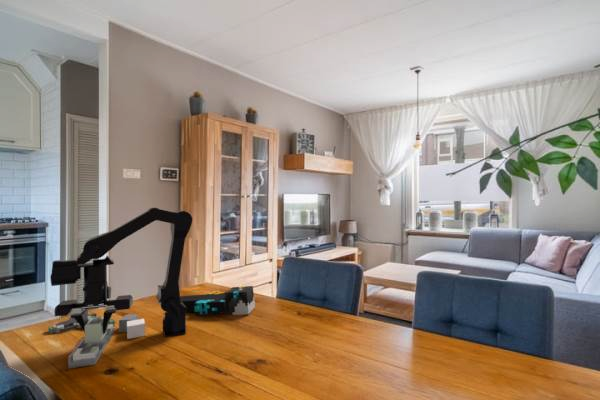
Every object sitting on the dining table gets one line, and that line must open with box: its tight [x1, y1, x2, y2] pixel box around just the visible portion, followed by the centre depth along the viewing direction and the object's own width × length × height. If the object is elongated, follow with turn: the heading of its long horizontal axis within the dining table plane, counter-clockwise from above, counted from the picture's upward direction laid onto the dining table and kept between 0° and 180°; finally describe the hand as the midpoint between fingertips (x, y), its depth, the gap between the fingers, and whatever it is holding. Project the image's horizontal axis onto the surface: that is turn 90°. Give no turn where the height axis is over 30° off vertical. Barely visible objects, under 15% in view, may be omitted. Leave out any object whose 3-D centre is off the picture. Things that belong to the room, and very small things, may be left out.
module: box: [84, 316, 106, 343], centre depth 96 cm, size 4×6×5 cm, turn 18°
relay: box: [126, 318, 146, 340], centre depth 105 cm, size 5×5×4 cm
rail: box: [67, 324, 115, 369], centre depth 96 cm, size 6×22×3 cm, turn 18°
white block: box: [118, 313, 139, 333], centre depth 110 cm, size 4×5×4 cm
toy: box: [180, 285, 256, 316], centre depth 128 cm, size 15×8×30 cm
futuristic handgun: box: [47, 312, 116, 335], centre depth 111 cm, size 3×19×15 cm
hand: (96, 334), depth 96 cm, fingers closed on module, 4 cm apart
